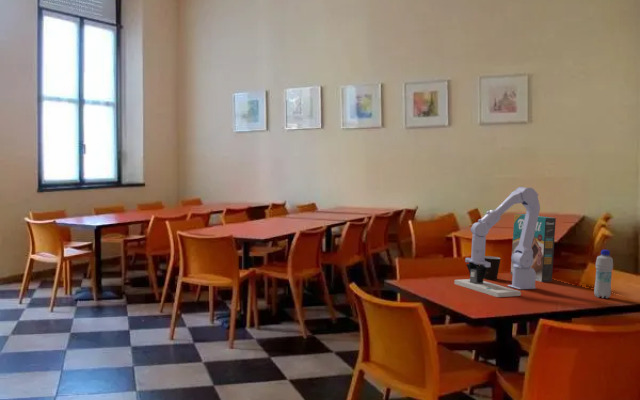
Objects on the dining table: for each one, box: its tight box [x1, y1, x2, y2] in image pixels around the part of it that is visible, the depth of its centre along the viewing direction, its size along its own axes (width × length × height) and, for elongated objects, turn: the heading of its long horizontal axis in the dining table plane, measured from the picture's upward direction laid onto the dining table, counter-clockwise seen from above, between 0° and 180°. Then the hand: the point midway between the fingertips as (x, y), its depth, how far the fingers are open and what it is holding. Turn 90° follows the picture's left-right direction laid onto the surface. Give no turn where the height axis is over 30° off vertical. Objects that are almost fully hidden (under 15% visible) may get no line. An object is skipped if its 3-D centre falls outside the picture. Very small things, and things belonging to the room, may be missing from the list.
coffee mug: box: [483, 255, 502, 281], centre depth 292 cm, size 12×9×10 cm
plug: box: [469, 269, 483, 284], centre depth 268 cm, size 4×4×8 cm
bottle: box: [593, 249, 614, 299], centre depth 256 cm, size 7×7×20 cm
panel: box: [454, 278, 522, 298], centre depth 262 cm, size 12×28×2 cm, turn 25°
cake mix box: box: [510, 213, 557, 283], centre depth 298 cm, size 22×6×30 cm, turn 22°
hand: (476, 281), depth 268 cm, fingers closed on plug, 4 cm apart
